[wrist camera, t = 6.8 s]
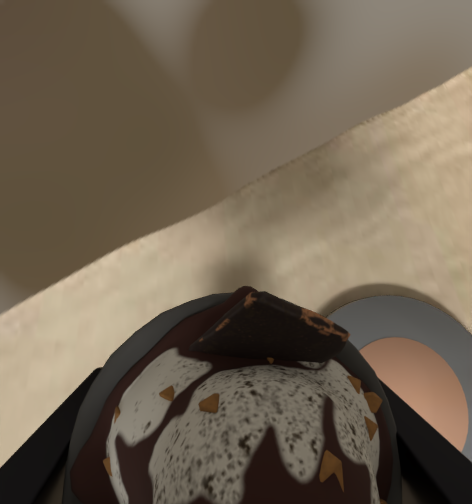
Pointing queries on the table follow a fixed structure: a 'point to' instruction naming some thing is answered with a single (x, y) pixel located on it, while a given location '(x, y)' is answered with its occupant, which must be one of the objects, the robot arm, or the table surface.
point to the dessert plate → (417, 359)
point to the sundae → (235, 412)
